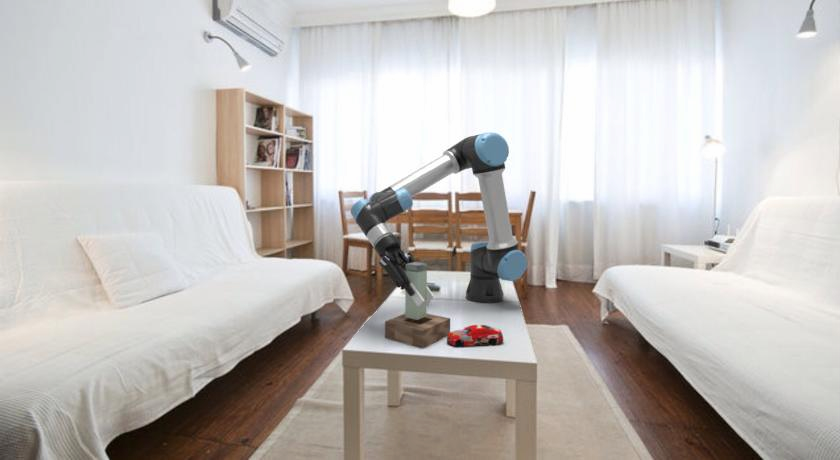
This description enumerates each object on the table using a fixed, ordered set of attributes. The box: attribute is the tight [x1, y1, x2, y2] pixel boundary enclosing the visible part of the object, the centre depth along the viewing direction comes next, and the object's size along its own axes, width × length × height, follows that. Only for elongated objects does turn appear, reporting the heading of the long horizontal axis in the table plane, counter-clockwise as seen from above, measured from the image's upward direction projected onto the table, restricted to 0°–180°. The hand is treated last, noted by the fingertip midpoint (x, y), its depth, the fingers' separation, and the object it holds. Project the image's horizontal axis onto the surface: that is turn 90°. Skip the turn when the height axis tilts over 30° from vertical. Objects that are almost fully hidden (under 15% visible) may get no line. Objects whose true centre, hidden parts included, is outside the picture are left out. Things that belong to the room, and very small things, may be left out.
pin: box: [404, 261, 428, 320], centre depth 125 cm, size 4×4×16 cm
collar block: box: [384, 312, 451, 349], centre depth 127 cm, size 14×14×5 cm
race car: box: [446, 324, 504, 348], centre depth 121 cm, size 16×7×5 cm, turn 97°
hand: (426, 301), depth 123 cm, fingers closed on pin, 4 cm apart
